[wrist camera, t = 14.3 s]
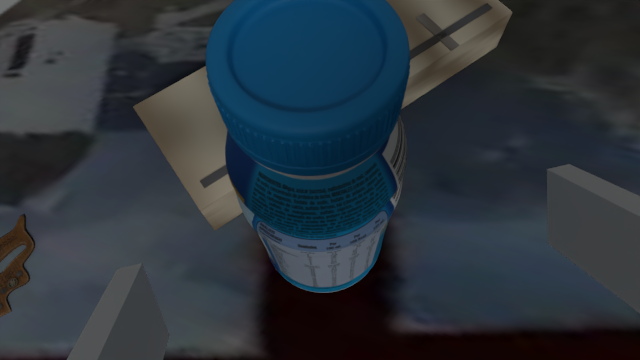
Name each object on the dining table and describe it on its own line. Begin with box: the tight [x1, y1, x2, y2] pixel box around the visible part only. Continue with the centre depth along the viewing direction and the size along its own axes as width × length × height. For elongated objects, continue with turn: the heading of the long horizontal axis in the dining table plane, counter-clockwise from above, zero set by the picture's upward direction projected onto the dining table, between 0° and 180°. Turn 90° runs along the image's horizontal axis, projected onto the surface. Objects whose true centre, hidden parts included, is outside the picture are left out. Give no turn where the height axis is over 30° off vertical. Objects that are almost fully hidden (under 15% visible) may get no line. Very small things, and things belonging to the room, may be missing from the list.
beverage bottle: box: [206, 0, 411, 293], centre depth 23 cm, size 8×8×20 cm
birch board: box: [133, 0, 512, 230], centre depth 36 cm, size 28×10×4 cm, turn 126°
